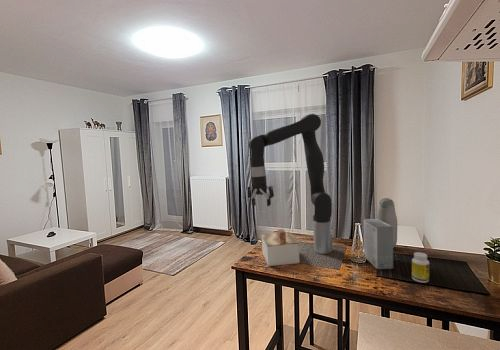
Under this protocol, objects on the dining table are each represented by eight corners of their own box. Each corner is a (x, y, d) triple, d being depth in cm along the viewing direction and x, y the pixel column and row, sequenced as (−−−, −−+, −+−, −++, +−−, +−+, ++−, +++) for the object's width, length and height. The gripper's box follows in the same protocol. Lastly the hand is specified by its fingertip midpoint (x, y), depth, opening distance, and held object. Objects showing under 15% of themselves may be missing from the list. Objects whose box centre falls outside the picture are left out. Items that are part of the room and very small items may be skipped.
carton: (289, 249, 149) (289, 232, 148) (299, 262, 132) (298, 243, 131) (262, 252, 148) (261, 235, 147) (268, 266, 130) (267, 246, 129)
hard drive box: (393, 269, 120) (393, 227, 118) (377, 269, 120) (376, 227, 118) (378, 255, 135) (377, 218, 134) (363, 256, 136) (362, 218, 134)
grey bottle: (375, 244, 151) (375, 196, 148) (395, 245, 147) (395, 196, 145) (377, 250, 141) (377, 200, 139) (399, 252, 138) (399, 200, 135)
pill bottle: (429, 284, 105) (429, 258, 104) (411, 281, 109) (411, 255, 108) (428, 277, 111) (429, 252, 110) (411, 274, 114) (411, 250, 113)
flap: (289, 232, 148) (288, 221, 148) (298, 243, 131) (298, 230, 130) (261, 235, 147) (261, 223, 146) (267, 246, 129) (266, 233, 128)
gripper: (274, 173, 136) (276, 204, 137) (250, 174, 143) (252, 203, 144) (268, 175, 129) (270, 207, 131) (243, 176, 136) (246, 207, 138)
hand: (261, 205), depth 137 cm, fingers open, 8 cm apart
